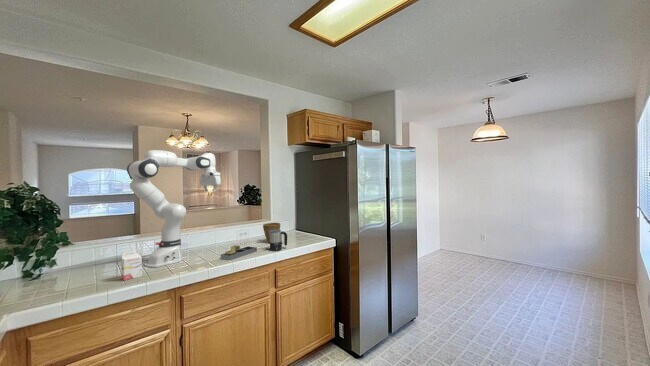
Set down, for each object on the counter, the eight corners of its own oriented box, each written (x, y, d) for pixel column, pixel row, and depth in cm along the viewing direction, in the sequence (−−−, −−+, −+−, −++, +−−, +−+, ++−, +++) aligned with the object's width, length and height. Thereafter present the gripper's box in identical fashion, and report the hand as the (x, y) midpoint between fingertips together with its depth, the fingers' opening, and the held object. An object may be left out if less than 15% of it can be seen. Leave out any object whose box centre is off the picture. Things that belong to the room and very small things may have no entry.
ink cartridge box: (124, 281, 144) (123, 253, 144) (121, 279, 147) (120, 252, 147) (142, 276, 150) (141, 250, 150) (139, 274, 154) (138, 249, 154)
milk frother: (273, 252, 196) (272, 232, 196) (263, 248, 208) (262, 229, 208) (289, 248, 205) (289, 229, 205) (279, 245, 217) (278, 227, 217)
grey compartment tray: (230, 261, 175) (229, 256, 175) (220, 259, 180) (220, 254, 180) (256, 252, 197) (256, 247, 197) (248, 250, 202) (247, 246, 202)
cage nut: (235, 253, 196) (234, 246, 196) (230, 252, 198) (230, 246, 198) (239, 251, 200) (239, 245, 200) (235, 251, 202) (235, 245, 202)
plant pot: (265, 240, 236) (265, 222, 236) (282, 240, 235) (282, 222, 235) (261, 244, 221) (260, 225, 221) (278, 244, 220) (278, 225, 220)
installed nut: (230, 259, 178) (230, 252, 178) (225, 258, 181) (225, 251, 181) (235, 257, 182) (235, 250, 182) (231, 256, 185) (230, 249, 185)
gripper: (197, 174, 210) (198, 191, 210) (215, 173, 200) (215, 191, 200) (204, 174, 215) (205, 191, 215) (222, 173, 205) (222, 191, 205)
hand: (210, 191), depth 207 cm, fingers open, 8 cm apart
